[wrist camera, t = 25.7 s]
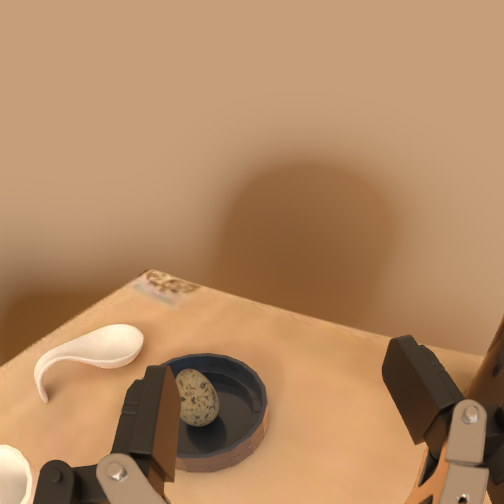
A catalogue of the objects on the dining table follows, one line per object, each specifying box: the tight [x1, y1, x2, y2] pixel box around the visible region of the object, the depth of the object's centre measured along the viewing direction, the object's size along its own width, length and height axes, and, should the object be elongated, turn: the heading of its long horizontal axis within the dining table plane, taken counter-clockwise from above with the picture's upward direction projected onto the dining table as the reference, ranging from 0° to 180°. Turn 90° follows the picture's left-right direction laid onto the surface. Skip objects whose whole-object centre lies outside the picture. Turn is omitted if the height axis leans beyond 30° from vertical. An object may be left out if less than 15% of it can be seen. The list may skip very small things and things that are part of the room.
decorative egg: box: [175, 369, 219, 426], centre depth 34 cm, size 6×6×10 cm
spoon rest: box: [34, 324, 144, 403], centre depth 43 cm, size 24×12×7 cm, turn 138°
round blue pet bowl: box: [142, 353, 268, 472], centre depth 36 cm, size 18×18×5 cm
